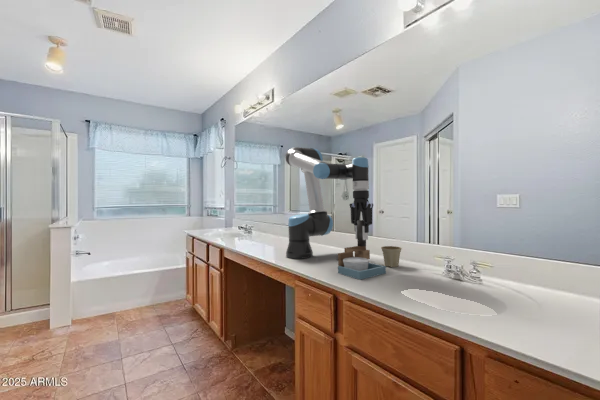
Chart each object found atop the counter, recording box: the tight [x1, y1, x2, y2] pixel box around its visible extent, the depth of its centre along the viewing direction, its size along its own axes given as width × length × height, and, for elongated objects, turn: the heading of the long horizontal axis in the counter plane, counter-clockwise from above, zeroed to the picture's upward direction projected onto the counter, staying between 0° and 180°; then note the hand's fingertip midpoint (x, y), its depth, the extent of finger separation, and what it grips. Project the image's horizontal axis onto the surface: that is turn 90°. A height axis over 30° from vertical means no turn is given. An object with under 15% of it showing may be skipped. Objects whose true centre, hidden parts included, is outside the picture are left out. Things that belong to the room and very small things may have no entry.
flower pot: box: [380, 245, 403, 268], centre depth 137 cm, size 9×9×9 cm
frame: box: [337, 262, 387, 280], centre depth 125 cm, size 13×16×3 cm
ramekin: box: [343, 256, 370, 271], centre depth 128 cm, size 11×11×5 cm
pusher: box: [337, 219, 371, 267], centre depth 136 cm, size 6×16×21 cm, turn 124°
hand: (361, 239), depth 139 cm, fingers closed on pusher, 4 cm apart
